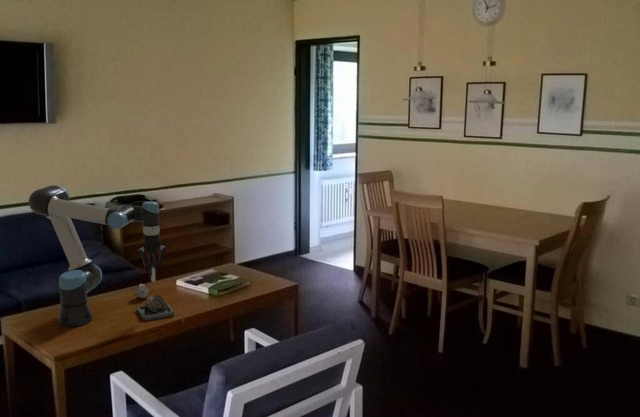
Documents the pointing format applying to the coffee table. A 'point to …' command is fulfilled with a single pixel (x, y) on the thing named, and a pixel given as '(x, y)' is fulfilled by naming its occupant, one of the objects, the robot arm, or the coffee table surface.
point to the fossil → (155, 304)
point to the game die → (141, 291)
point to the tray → (151, 315)
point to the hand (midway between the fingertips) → (153, 280)
